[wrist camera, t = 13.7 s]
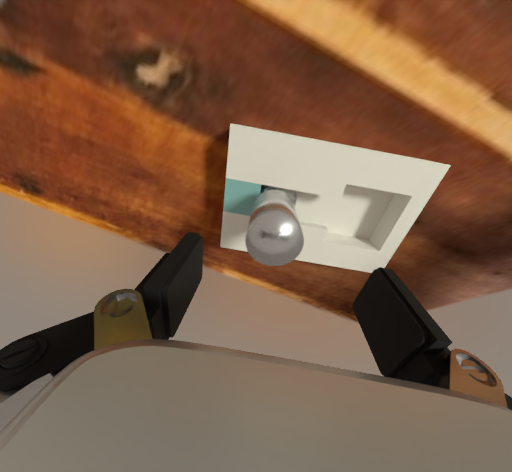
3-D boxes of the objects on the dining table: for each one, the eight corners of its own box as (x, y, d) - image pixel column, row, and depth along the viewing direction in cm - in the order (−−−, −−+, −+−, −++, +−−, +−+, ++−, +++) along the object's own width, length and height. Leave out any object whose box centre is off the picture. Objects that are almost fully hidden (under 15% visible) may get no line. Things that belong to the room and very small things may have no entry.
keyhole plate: (422, 159, 20) (450, 165, 17) (367, 257, 27) (380, 274, 24) (236, 124, 20) (230, 123, 16) (226, 232, 26) (220, 247, 23)
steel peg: (300, 177, 21) (323, 214, 12) (289, 220, 23) (300, 277, 14) (254, 169, 21) (241, 200, 12) (247, 212, 23) (233, 265, 14)
